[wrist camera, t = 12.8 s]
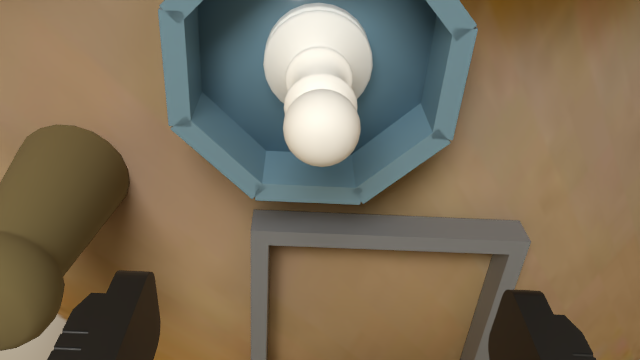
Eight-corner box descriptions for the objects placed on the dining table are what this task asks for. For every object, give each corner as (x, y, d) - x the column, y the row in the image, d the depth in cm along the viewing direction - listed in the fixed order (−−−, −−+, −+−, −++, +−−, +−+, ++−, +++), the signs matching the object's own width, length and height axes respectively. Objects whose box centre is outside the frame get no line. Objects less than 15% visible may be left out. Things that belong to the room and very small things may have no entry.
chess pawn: (298, 118, 28) (296, 225, 21) (244, 34, 26) (220, 121, 18) (386, 72, 27) (419, 169, 19) (339, -20, 24) (354, 49, 17)
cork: (146, 157, 30) (75, 303, 21) (107, 231, 33) (29, 389, 24) (35, 105, 28) (-95, 240, 19) (4, 188, 31) (-123, 341, 22)
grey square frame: (519, 220, 33) (531, 241, 31) (464, 388, 42) (470, 411, 40) (253, 209, 32) (250, 230, 31) (253, 382, 41) (251, 406, 39)
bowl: (473, -89, 24) (501, -74, 20) (423, 166, 31) (437, 208, 28) (170, -111, 23) (147, -99, 20) (189, 155, 30) (175, 196, 27)
